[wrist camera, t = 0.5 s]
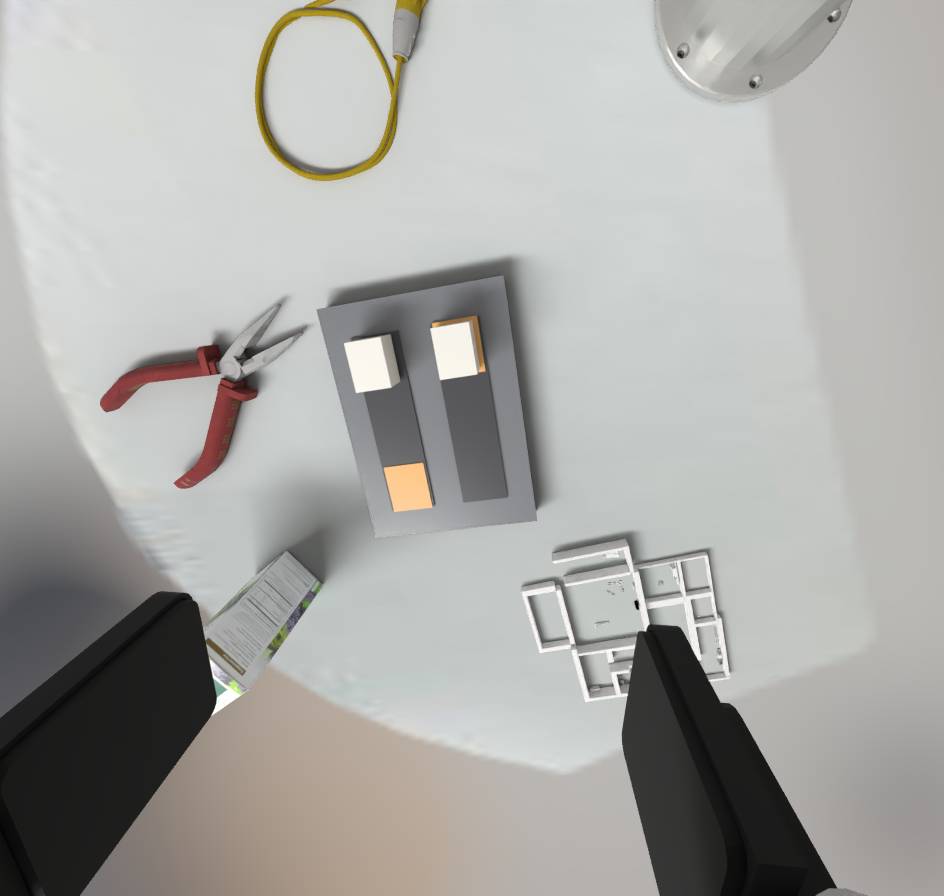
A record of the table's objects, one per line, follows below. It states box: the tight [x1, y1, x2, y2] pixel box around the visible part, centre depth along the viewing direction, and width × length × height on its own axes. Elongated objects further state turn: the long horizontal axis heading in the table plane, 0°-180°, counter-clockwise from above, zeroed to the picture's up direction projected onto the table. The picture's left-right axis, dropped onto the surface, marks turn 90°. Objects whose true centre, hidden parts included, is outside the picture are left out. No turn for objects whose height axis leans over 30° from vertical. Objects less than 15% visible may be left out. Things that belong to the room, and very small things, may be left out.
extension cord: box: [255, 0, 427, 181], centre depth 34 cm, size 12×16×2 cm
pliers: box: [100, 304, 303, 489], centre depth 42 cm, size 12×21×3 cm, turn 126°
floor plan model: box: [521, 539, 730, 702], centre depth 47 cm, size 19×25×2 cm
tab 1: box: [344, 334, 400, 393], centre depth 37 cm, size 4×3×3 cm
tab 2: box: [430, 320, 480, 380], centre depth 36 cm, size 4×3×3 cm
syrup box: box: [203, 551, 322, 716], centre depth 42 cm, size 6×6×14 cm
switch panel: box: [317, 275, 537, 538], centre depth 41 cm, size 22×16×2 cm
